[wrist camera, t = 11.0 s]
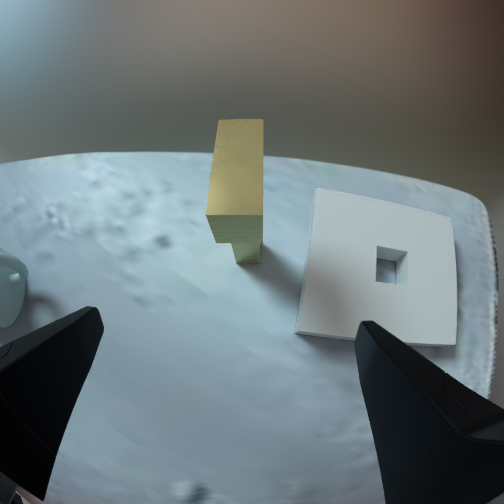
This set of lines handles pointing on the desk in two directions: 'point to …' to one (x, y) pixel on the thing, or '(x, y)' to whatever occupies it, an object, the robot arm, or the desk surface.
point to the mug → (11, 287)
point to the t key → (238, 188)
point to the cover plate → (364, 271)
